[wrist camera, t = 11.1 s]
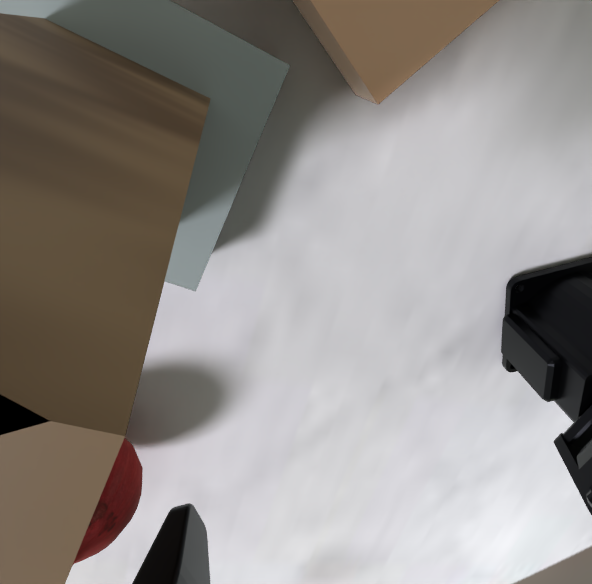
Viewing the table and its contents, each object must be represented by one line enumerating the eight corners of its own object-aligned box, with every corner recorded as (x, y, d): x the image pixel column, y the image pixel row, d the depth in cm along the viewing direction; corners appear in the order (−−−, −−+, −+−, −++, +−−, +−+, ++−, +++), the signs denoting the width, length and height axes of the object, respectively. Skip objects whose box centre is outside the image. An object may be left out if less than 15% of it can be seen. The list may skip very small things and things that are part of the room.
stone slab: (280, 61, 16) (290, 65, 14) (199, 259, 20) (195, 291, 18) (20, -79, 14) (-28, -107, 11) (-20, 182, 17) (-63, 207, 15)
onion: (39, 388, 23) (-42, 540, 16) (154, 395, 24) (126, 539, 17) (46, 463, 25) (-21, 621, 18) (149, 466, 27) (122, 614, 20)
